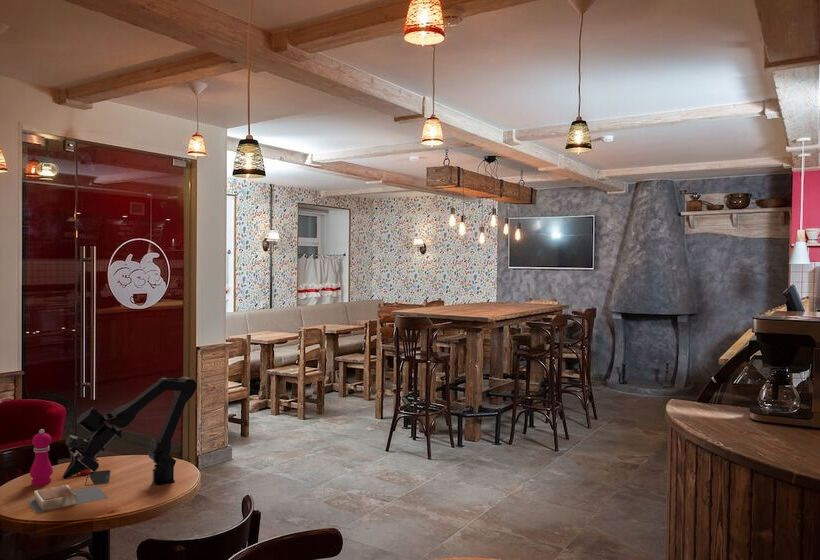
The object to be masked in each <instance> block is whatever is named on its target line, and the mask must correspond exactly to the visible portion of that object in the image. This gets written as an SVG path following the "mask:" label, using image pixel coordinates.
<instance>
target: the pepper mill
mask: <svg viewBox="0 0 820 560" xmlns="http://www.w3.org/2000/svg"><path fill="white" fill-rule="evenodd" d="M31 441H32V442H31V443H32V444H31V445H33V452H34V460H33V463H32V465H31V467H30V470H29V476H30V477H31V478H32V479H31V483H30V484H31V486H33V487H34V486H44V485H45V486H46V485H48V484H50V483H52V477H51V476H52V475H53V472H54V469H53V468H54V467H53V465H52V464H51V461H50V459H49V451H50V444H51V443H52V437H51V435H50V434H49V433H46V432H45V429H44V428H41V429H39V431H38V433H36V434H35V435H34V436H33V437H32V440H31Z"/></svg>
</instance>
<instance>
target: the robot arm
mask: <svg viewBox="0 0 820 560" xmlns="http://www.w3.org/2000/svg"><path fill="white" fill-rule="evenodd" d="M197 388H198V384H197V382H196V381H195V379H192V378H191V377H188V376H181V377H179V378H177V377H169V378H168V377H160V378H159V379H158V380H157V381H156V382H155V383H153V384H152V385H151V386H149V387H148V388H147V389H145V390H144V391H143V392H141V393H140V394H138V396H136V397H135V398H134V399H133V400H131V401H129V402H128V403H125V404H122V405H121V406H118V407H117V408H115V409H114V410H112V411H111V412H108V413H104V414H101V413H99V412H98V410H97V409H96V408H95V407H91V408H90V409H87V410H86V411H84V412H83V413H81V414H80V416H78V418H77V419H76V424H78V425H80V426H81V427H82V428H83V429H84V430H85V431H86V432H88V433H93V432H94V433H93V434H92V435H91V436H87V437H85V438H83V437H81V436H75V435H73V434H69V435H68V437H67V438H66V441H65V443H64V444H65V446H66V447H67V450H68V451H72V452H73V453H74V454H73V455H72V454H70V462H69V464H68V466H67V468H65V471H64V473H63V475H62V478H63V479H64V480H66V479H68V478H70V477H73V476H74V475H76V474H80V472H81V471H84V470H86V469H89V468H90V469H91V470H90V471H91V472H95V471H97V470H98V469H99V467H100V465H99V464H100V463H99V461H95V460H97V458H96V457H97V456H98V455H99V454H100V453H101V452H104V451H105V450H106V448H105V447H107V445H108V444H109V443H110V442H111V441H112V440H113V439H114V437H115V436H117V437H118V438H119V439H122V437H123V436H122V434H123V433H122V432H123V431H122V429H121V428H123V429H124V428H126V427H128V426H129V425H130V424H131V423H132V422H133V421H134V420H135V419H136V417H137V415H138V414H139V413H140V412H141V411H142V410H143V409H144V408H145V407H147V406H148V405H149V404H150V403H151V402H153V401H154V400H155V399H157V398H158V397H159V396H160V395H162V394H163V393H164V392H165V391H167V390H168V391H173V400H172V404H171V406H170V408H169V410H168V413H167V415H166V418H165V421H164V422H163V425H162V428H161V431H160V433H159V435H158V436H157V437H156V439H154V438H151V440H150V443H149V446H148V447H147V449H146V450H147V456H148V458H149V459H151V461H153V463H154V465H153V466H154V468H153V469H152V481H153V483H155V485H157V486H159V485H160V486H161V485H164V484H165V485H166V484H170V483H174V481H175V482H176V479H174V477H175V476H174V474H175V471H174V468H175V466H176V463H177V461H176V459H174V458H173V457H172V456H171V452H172V439H173V437H174V434H175V432H176V429H177V426H178V425H179V422H180V420H181V416H182V414H183V411H184V409H185V406H186V404H187V403H188V402H189V401H190V400H191V399H192V397H193V396H194V394H195V393H196V390H197ZM106 423H107V424H108V425H107V424H106ZM115 426H116V427H117V428H116V427H115Z"/></svg>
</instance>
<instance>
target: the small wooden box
mask: <svg viewBox="0 0 820 560" xmlns="http://www.w3.org/2000/svg"><path fill="white" fill-rule="evenodd" d="M73 491H74V490H73V489H72V488H71V487H70V486H69V485H68V484H62V485H59V486H57V485H56V486H52V487H51V486H50V487H46V488H42V489H37V490H34V497H33V498H34V500H35V501H36V503H37V504H38V506H39V507H40V509H41V510H42V511H43V512H45V511H44V510H48V511H50V510H49V509H53V508H57V509H59V508H58V507H62V508H64V507H63V506H67V507H69V506H68V505H72V506H74V505H73V504H76V494H75V493H74V492H73ZM53 510H54V509H53Z"/></svg>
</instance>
